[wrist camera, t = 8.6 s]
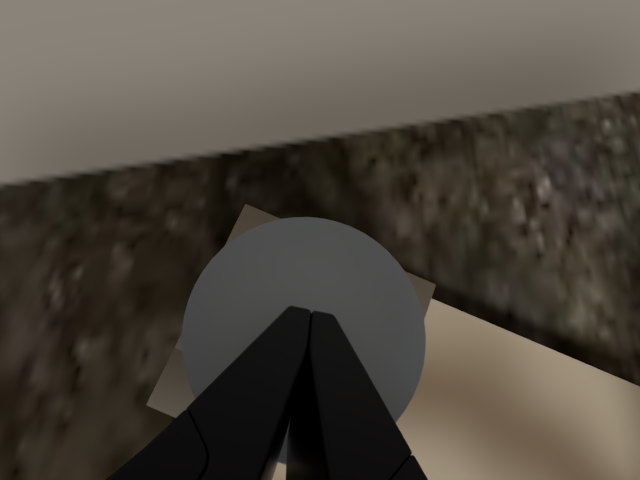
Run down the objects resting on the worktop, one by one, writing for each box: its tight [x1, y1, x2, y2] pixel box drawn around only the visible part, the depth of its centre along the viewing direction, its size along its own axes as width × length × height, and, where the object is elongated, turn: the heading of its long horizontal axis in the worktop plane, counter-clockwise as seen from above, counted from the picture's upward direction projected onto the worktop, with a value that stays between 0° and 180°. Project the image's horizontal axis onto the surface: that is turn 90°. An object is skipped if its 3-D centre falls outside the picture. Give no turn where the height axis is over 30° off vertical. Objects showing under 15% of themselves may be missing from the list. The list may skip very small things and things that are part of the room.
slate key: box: [182, 217, 426, 464], centre depth 11 cm, size 5×5×3 cm
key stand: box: [147, 204, 640, 480], centre depth 15 cm, size 8×22×8 cm, turn 68°
